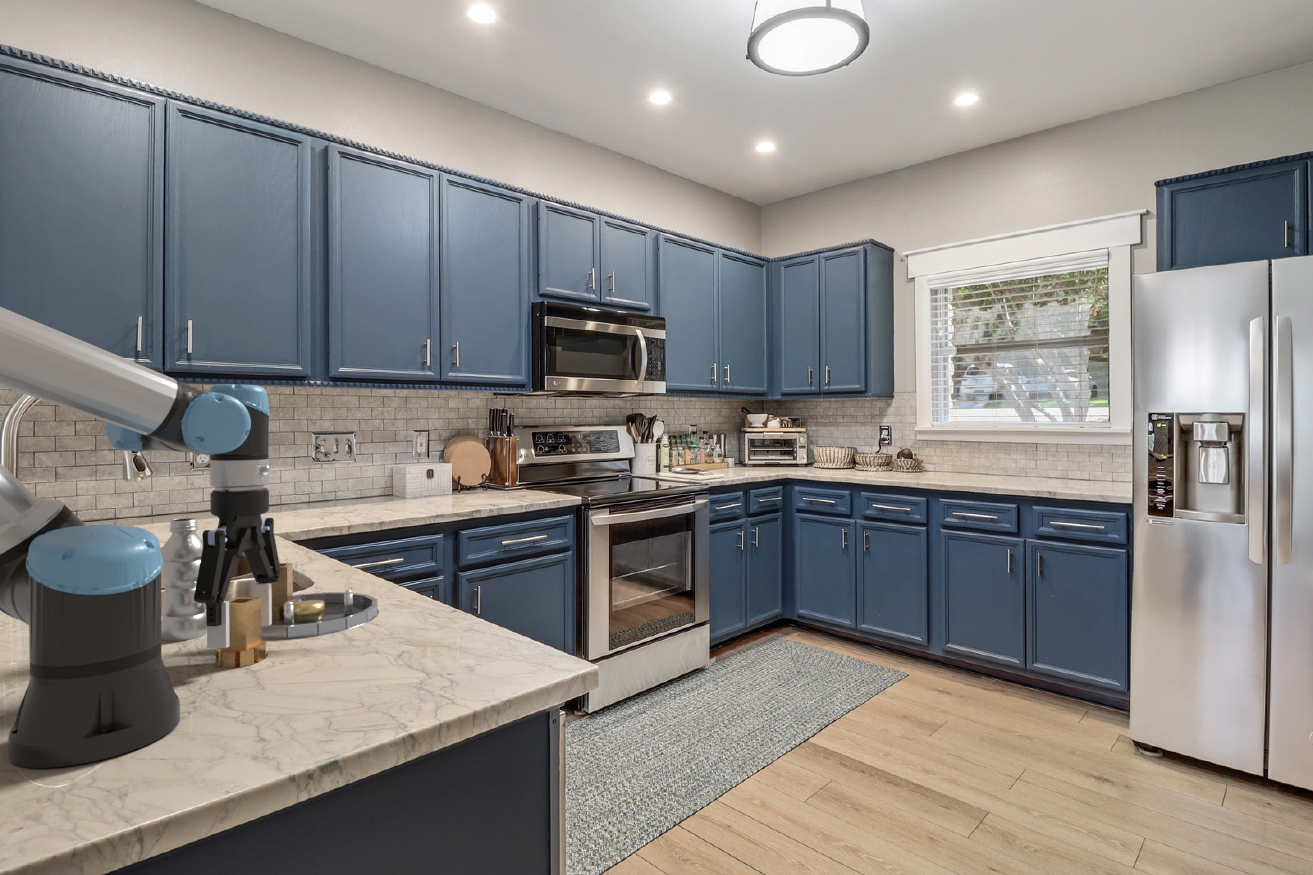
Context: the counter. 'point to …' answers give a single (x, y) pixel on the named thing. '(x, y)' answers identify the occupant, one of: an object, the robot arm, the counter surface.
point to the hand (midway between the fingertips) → (241, 635)
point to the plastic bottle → (182, 583)
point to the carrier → (322, 615)
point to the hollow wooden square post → (243, 634)
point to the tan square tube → (282, 591)
